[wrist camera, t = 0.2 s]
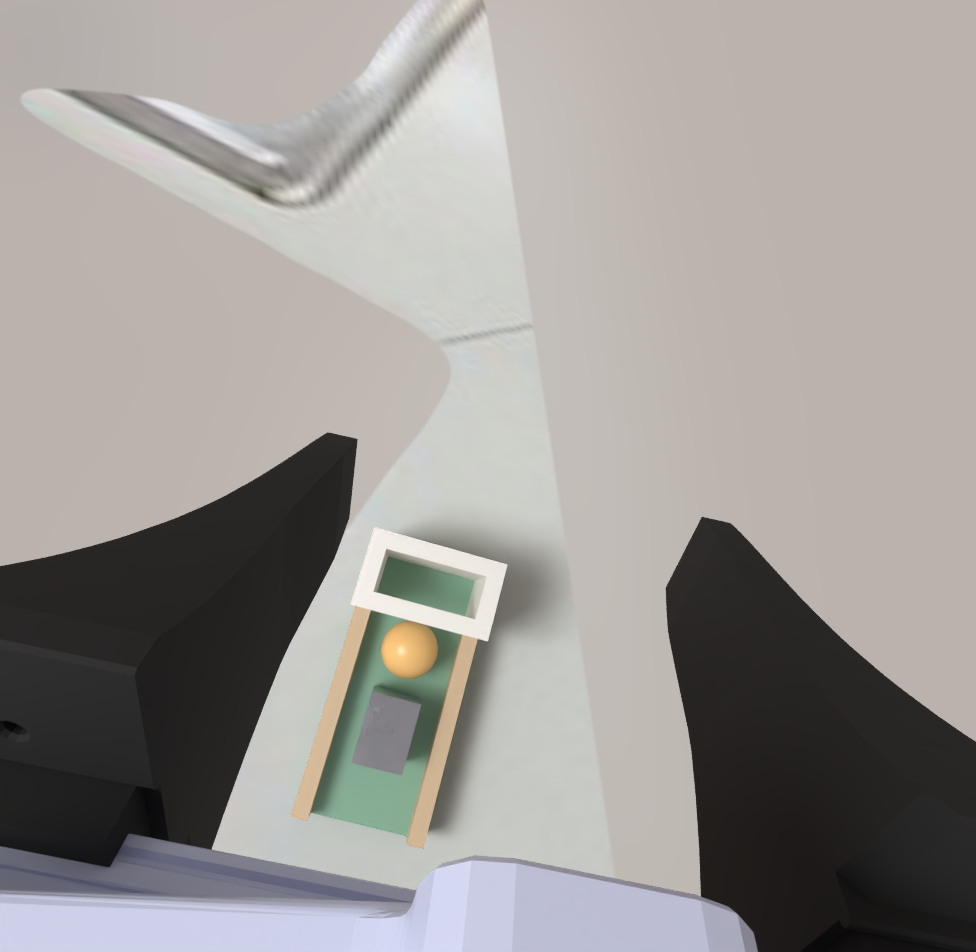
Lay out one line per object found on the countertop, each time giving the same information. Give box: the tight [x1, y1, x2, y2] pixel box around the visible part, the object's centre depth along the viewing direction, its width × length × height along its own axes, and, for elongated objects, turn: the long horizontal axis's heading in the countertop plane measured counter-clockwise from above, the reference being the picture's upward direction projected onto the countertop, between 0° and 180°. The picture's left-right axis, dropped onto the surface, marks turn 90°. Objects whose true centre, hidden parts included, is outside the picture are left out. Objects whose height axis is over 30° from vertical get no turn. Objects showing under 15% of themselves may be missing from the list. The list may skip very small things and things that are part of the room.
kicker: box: [351, 685, 421, 776], centre depth 38 cm, size 4×3×3 cm
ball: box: [381, 620, 438, 679], centre depth 39 cm, size 4×4×4 cm
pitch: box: [291, 527, 507, 849], centre depth 38 cm, size 17×8×7 cm, turn 165°
